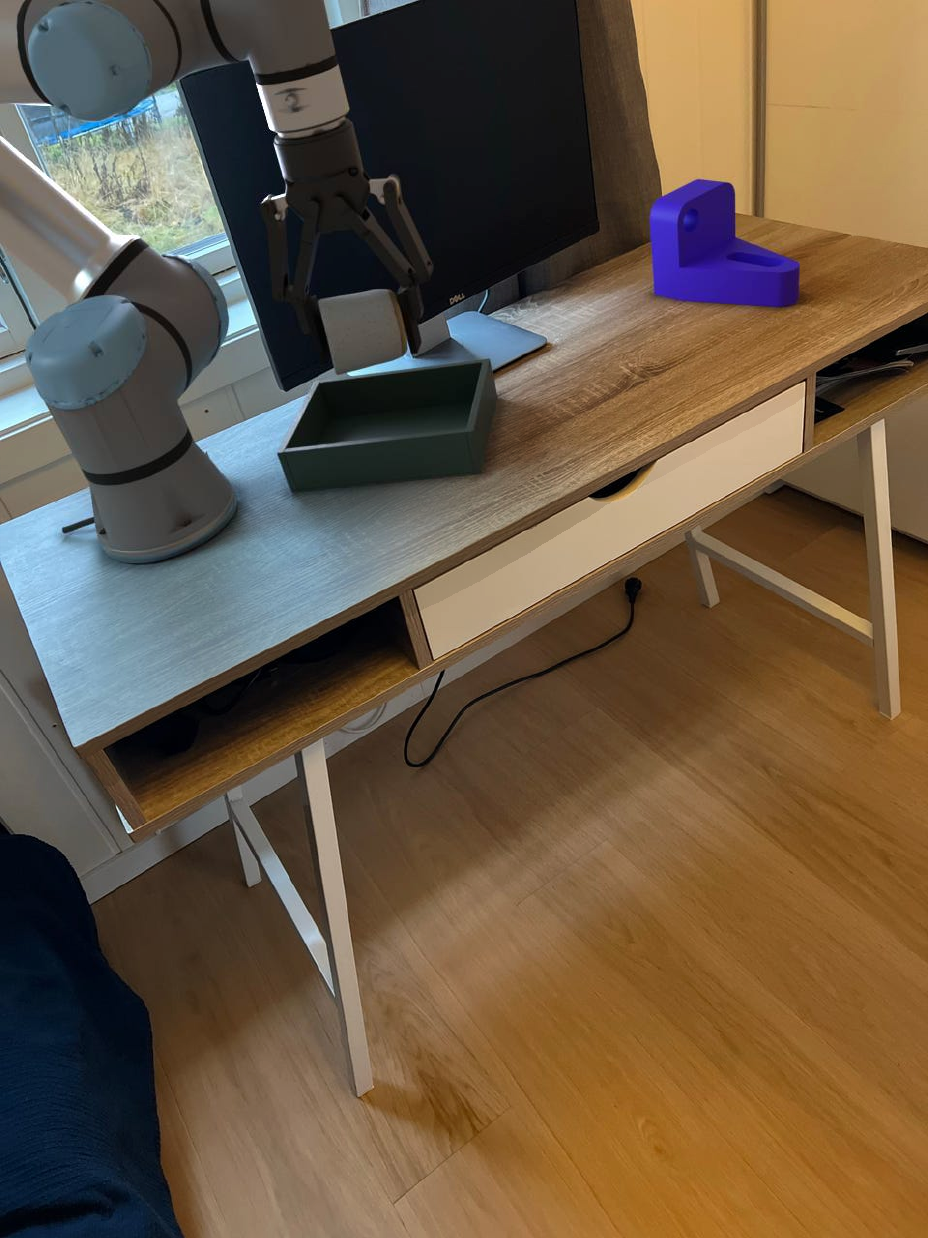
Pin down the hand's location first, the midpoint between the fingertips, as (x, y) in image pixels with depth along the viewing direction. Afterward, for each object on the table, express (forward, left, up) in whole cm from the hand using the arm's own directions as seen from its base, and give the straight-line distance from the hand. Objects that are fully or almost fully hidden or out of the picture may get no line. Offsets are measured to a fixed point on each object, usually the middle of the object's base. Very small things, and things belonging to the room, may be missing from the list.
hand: (371, 353), depth 99 cm
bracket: (+40, +30, -11) cm, 51 cm away
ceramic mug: (-1, 0, -1) cm, 1 cm away
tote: (0, 0, -11) cm, 11 cm away
